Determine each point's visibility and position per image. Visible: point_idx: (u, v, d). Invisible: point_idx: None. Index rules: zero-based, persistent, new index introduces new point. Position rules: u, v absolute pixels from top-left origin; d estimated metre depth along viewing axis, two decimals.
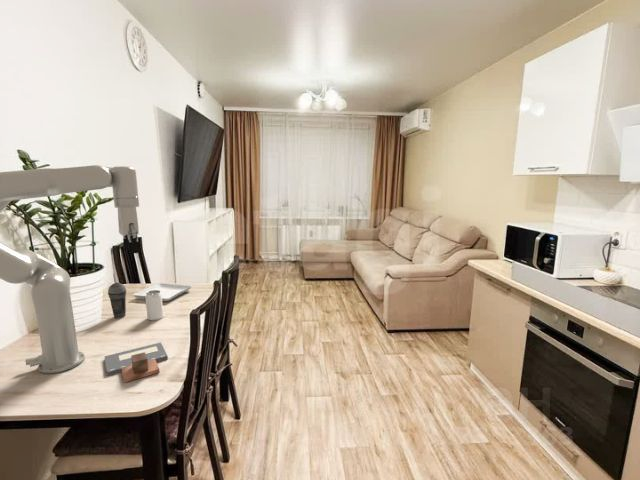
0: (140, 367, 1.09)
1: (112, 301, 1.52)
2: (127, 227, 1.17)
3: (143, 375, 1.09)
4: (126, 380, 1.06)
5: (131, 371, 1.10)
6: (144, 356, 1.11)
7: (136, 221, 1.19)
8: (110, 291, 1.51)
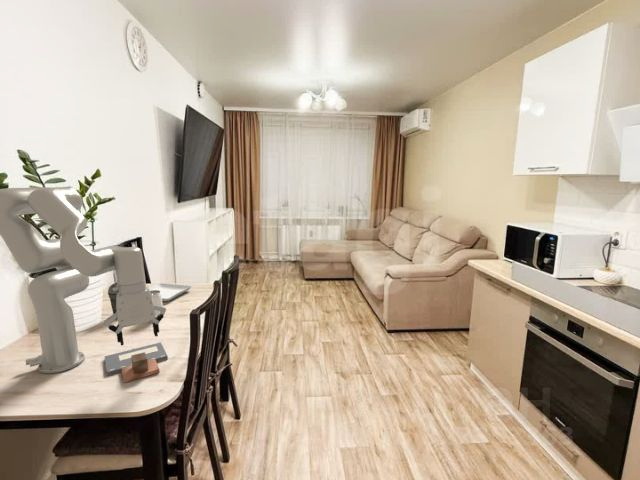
0: (140, 367, 1.09)
1: (112, 301, 1.52)
2: (154, 309, 1.10)
3: (143, 375, 1.09)
4: (126, 380, 1.06)
5: (131, 371, 1.10)
6: (144, 356, 1.11)
7: None
8: (110, 291, 1.51)
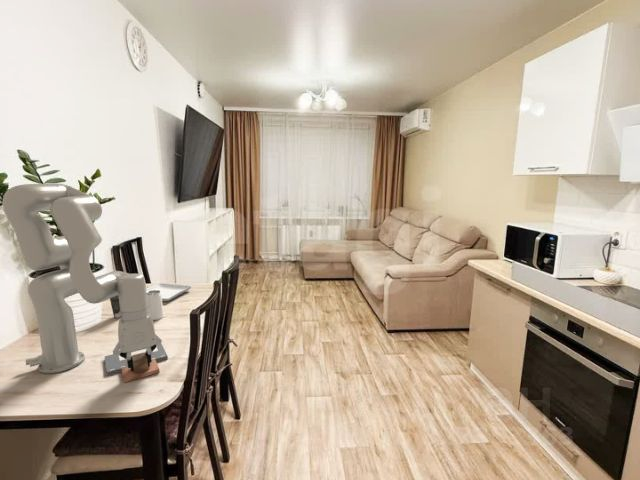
0: (140, 367, 1.09)
1: (112, 301, 1.52)
2: (155, 334, 1.11)
3: (143, 375, 1.09)
4: (126, 380, 1.06)
5: None
6: (144, 356, 1.11)
7: None
8: None
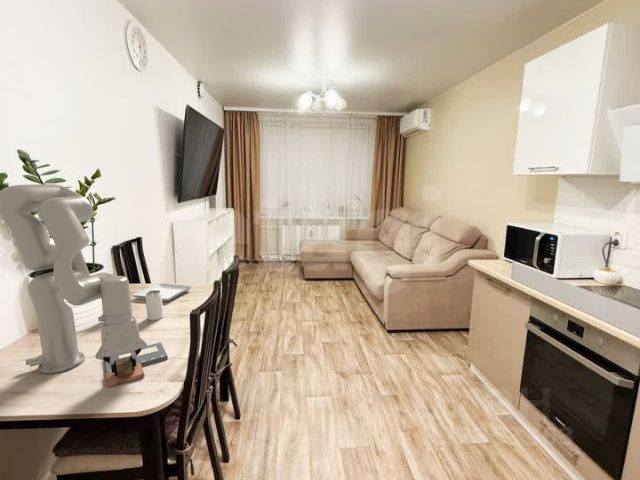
0: (124, 371, 1.07)
1: None
2: (139, 338, 1.09)
3: (127, 380, 1.06)
4: (109, 385, 1.04)
5: (115, 376, 1.07)
6: (128, 360, 1.09)
7: None
8: None
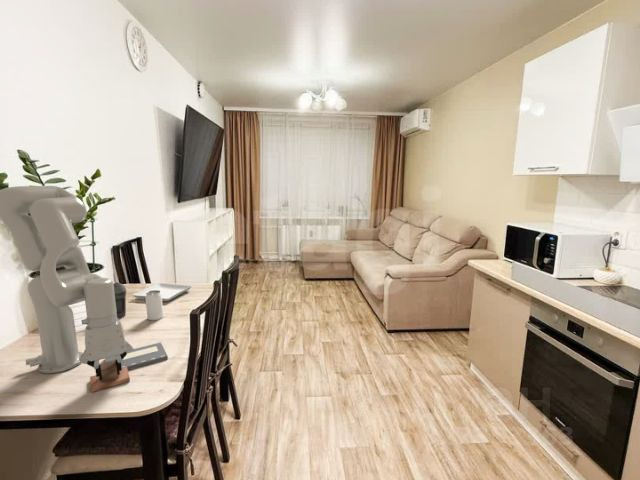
0: (109, 375, 1.04)
1: None
2: (125, 341, 1.07)
3: (112, 384, 1.04)
4: (93, 389, 1.01)
5: (100, 380, 1.05)
6: (114, 364, 1.06)
7: None
8: None
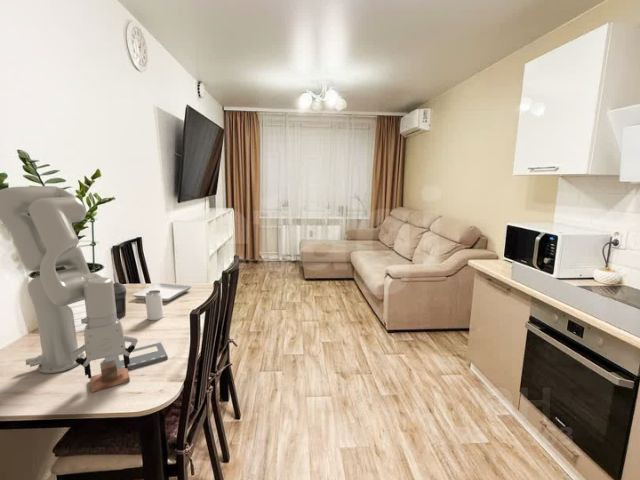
0: (109, 375, 1.04)
1: None
2: (124, 341, 1.07)
3: (112, 384, 1.04)
4: (93, 389, 1.01)
5: (100, 380, 1.05)
6: (114, 364, 1.06)
7: None
8: None
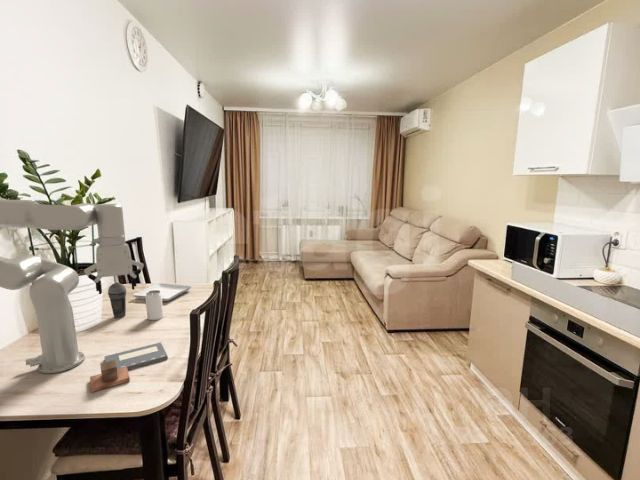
0: (109, 375, 1.04)
1: (112, 301, 1.52)
2: (131, 263, 1.17)
3: (112, 384, 1.04)
4: (93, 389, 1.01)
5: (100, 380, 1.05)
6: (114, 364, 1.06)
7: None
8: (110, 291, 1.51)
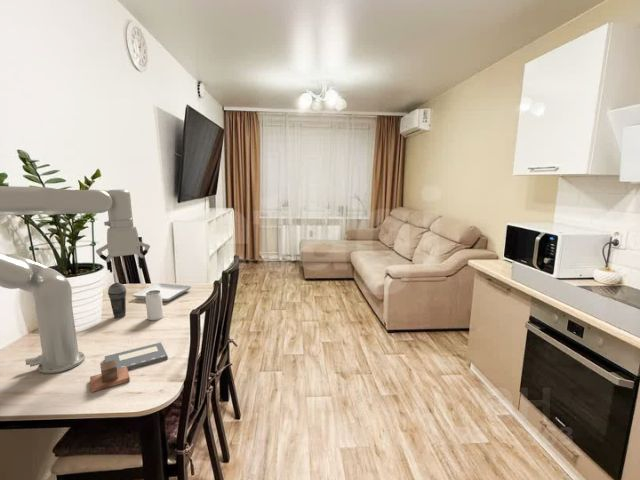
0: (109, 375, 1.04)
1: (112, 301, 1.52)
2: (139, 244, 1.28)
3: (112, 384, 1.04)
4: (93, 389, 1.01)
5: (100, 380, 1.05)
6: (114, 364, 1.06)
7: None
8: (110, 291, 1.51)
